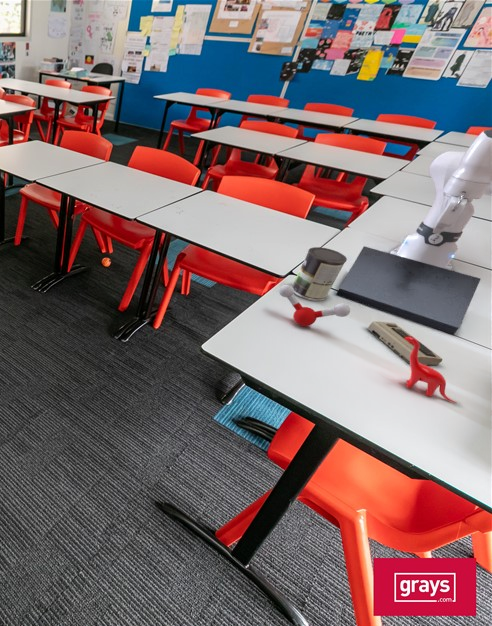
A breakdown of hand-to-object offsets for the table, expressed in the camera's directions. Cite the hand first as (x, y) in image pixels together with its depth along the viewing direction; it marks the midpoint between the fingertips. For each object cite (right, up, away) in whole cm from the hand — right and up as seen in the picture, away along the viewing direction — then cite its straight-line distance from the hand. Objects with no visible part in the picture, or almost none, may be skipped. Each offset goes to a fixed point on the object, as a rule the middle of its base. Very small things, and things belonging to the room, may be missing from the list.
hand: (435, 232), depth 131 cm
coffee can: (-36, -19, +6) cm, 41 cm away
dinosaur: (-34, -44, -30) cm, 63 cm away
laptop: (-9, -21, +4) cm, 24 cm away
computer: (-25, -35, -16) cm, 46 cm away
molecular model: (-48, -29, -9) cm, 57 cm away
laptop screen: (-9, -17, 0) cm, 19 cm away
